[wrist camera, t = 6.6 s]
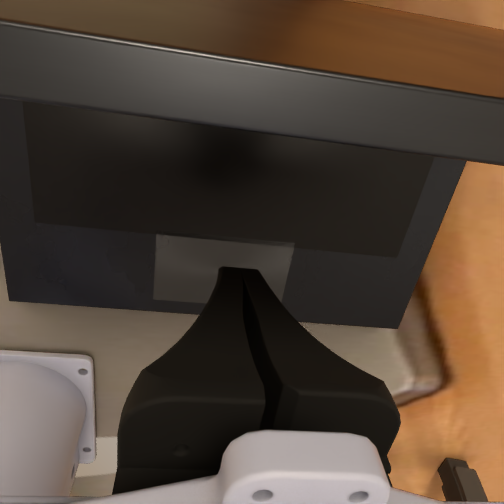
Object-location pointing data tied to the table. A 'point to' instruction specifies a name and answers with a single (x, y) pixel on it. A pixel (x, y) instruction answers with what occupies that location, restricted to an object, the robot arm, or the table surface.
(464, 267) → the table surface
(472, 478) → the hand grip strengthener
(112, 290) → the laptop
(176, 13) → the screen
